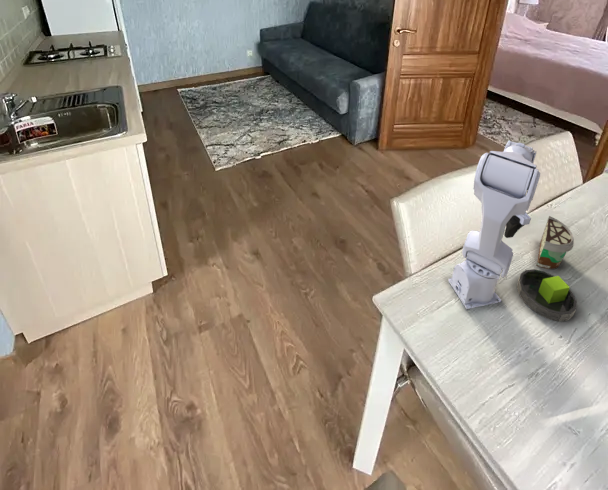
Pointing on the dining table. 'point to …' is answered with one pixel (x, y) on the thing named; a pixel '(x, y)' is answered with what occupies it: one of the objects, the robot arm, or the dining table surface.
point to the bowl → (536, 302)
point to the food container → (554, 244)
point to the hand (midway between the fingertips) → (498, 225)
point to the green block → (553, 289)
